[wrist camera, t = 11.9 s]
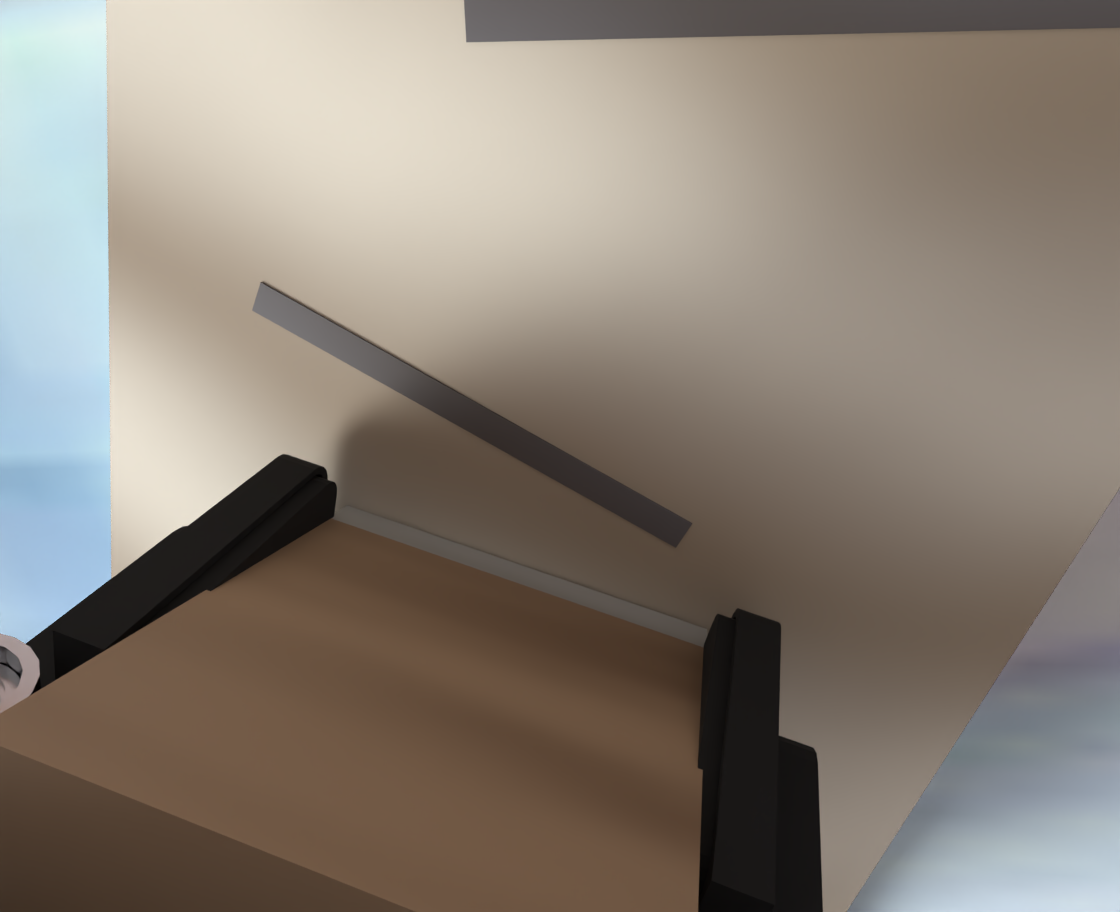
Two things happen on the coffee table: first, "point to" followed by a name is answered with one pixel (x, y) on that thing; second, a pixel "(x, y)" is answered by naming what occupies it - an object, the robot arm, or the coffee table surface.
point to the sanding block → (365, 745)
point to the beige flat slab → (648, 314)
